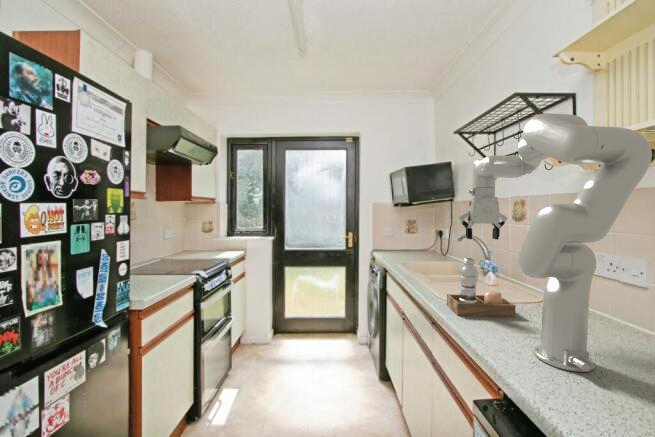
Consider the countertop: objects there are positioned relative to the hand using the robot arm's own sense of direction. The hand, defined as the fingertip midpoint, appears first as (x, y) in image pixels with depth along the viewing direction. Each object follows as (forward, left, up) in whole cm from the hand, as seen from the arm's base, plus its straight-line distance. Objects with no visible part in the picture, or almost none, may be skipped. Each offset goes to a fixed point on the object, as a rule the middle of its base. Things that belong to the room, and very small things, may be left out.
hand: (482, 239), depth 113 cm
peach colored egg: (+1, -5, -28) cm, 28 cm away
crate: (+1, 0, -28) cm, 28 cm away
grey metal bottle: (+1, +4, -28) cm, 28 cm away
